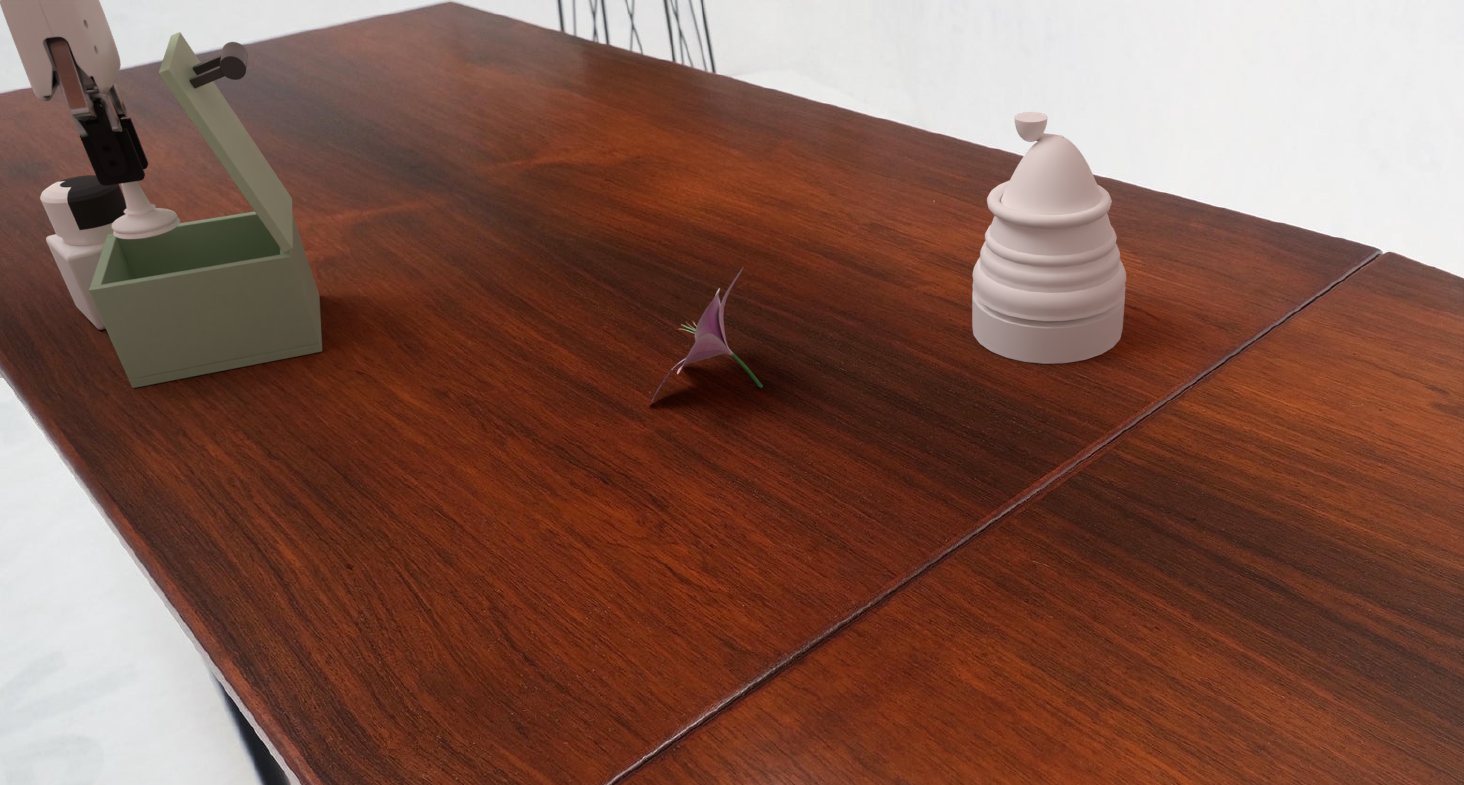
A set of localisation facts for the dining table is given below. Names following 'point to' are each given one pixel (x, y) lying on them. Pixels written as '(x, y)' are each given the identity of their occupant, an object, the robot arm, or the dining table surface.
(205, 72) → the box lid
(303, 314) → the green box
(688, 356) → the lily
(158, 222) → the chess piece
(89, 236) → the medicine bottle
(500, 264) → the dining table surface
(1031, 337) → the honey pot
